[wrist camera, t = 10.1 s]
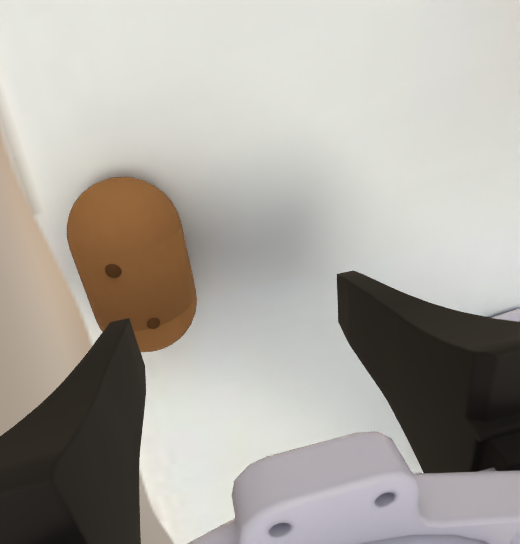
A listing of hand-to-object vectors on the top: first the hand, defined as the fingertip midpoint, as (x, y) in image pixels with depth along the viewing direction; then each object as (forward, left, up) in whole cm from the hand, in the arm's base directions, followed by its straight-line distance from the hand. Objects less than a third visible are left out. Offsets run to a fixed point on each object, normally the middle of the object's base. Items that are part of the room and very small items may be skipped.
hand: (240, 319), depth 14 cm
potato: (0, +4, -9) cm, 9 cm away
